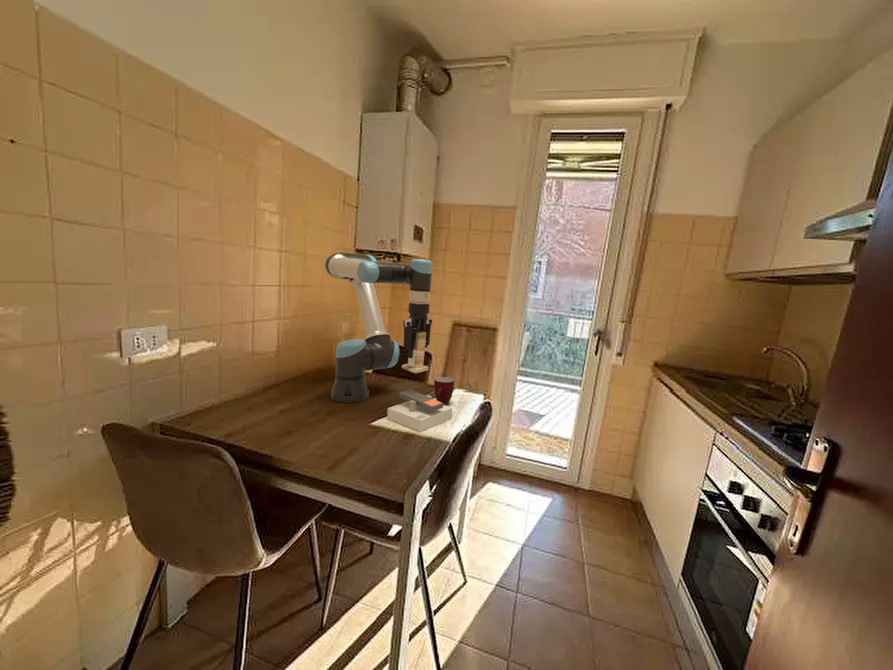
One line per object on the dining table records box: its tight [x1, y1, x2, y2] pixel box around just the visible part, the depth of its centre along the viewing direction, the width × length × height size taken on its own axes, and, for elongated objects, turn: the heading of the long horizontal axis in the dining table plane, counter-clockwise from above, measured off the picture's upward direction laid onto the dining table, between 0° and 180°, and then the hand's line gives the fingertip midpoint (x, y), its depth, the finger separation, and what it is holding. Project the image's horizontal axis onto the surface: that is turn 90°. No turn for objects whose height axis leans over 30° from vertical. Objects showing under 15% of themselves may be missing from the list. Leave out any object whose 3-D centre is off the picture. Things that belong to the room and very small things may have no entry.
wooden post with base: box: [401, 331, 429, 374], centre depth 139 cm, size 7×7×14 cm
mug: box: [433, 376, 455, 406], centre depth 152 cm, size 10×8×10 cm
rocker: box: [398, 388, 444, 412], centre depth 135 cm, size 16×6×2 cm, turn 52°
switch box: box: [386, 394, 453, 433], centre depth 136 cm, size 16×17×8 cm
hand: (415, 365), depth 141 cm, fingers closed on wooden post with base, 4 cm apart
